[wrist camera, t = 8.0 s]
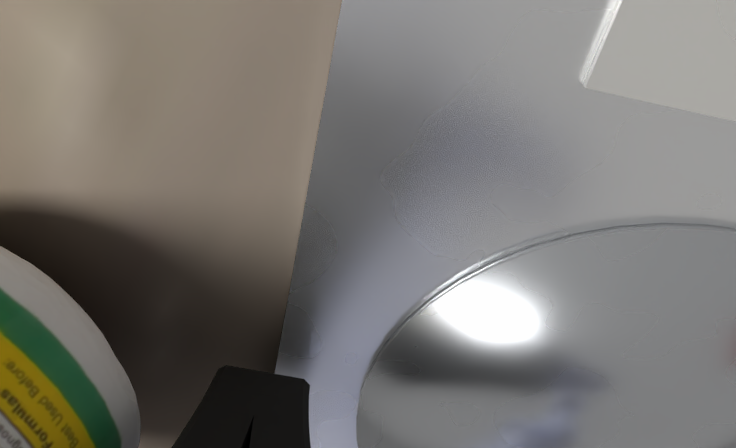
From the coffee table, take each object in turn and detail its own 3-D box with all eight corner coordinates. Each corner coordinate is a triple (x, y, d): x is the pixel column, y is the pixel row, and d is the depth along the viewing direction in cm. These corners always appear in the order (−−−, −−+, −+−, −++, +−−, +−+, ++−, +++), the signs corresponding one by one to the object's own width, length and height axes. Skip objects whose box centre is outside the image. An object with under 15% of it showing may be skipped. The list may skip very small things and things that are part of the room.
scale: (764, 602, 15) (775, 626, 14) (248, 518, 14) (243, 542, 13) (1602, -108, 6) (1687, -99, 6) (422, -440, 5) (424, -460, 5)
